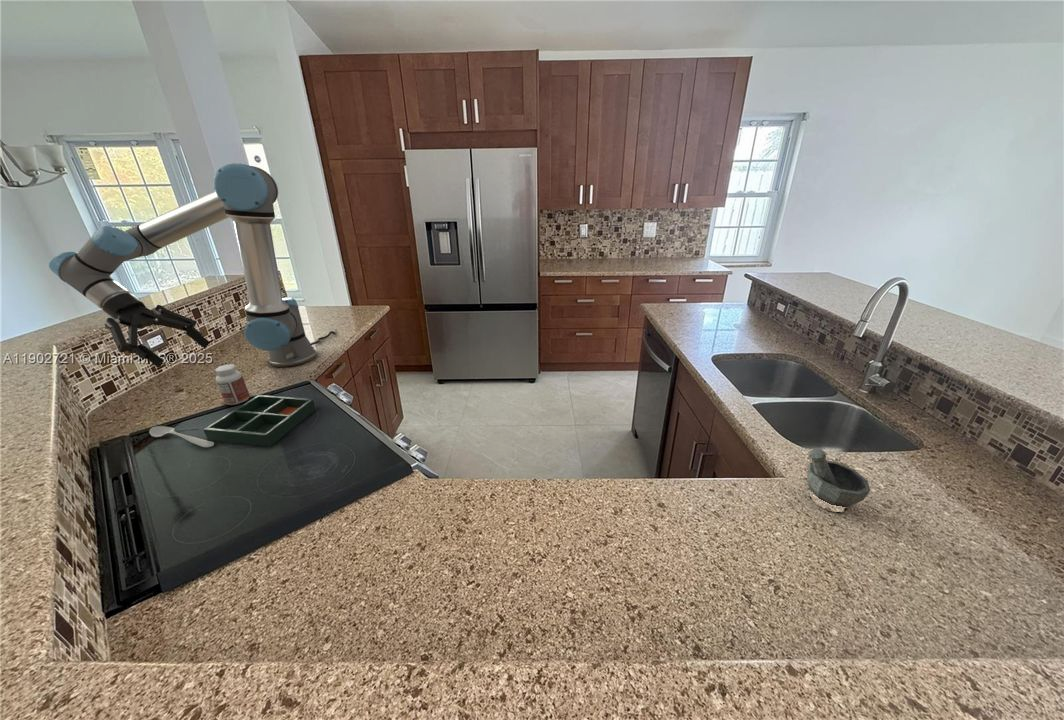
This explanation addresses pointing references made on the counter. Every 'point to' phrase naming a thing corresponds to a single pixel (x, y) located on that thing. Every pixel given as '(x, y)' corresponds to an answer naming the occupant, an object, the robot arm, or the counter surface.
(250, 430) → the grid
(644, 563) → the counter surface
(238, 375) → the pill bottle
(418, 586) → the counter surface
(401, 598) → the counter surface
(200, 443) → the spoon
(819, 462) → the mortar and pestle
